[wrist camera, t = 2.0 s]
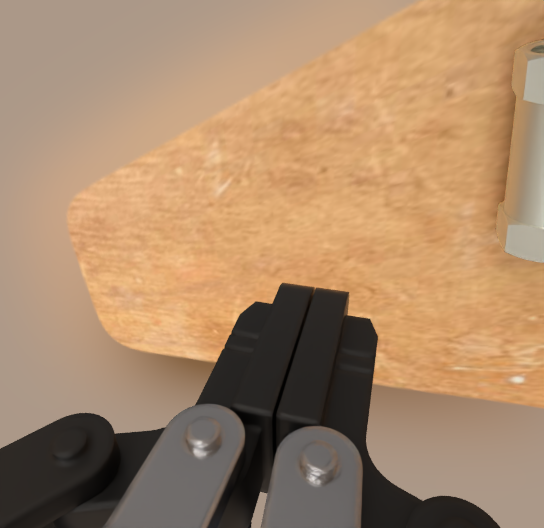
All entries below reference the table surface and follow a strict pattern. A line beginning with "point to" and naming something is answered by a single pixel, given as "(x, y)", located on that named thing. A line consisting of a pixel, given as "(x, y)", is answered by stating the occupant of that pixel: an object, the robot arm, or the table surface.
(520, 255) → the pipe fitting
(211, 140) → the table surface
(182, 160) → the table surface
